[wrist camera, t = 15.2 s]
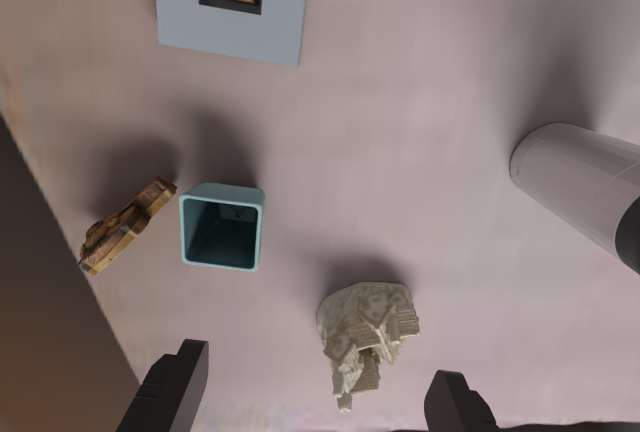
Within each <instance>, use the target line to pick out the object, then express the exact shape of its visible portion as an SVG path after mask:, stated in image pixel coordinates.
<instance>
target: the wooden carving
mask: <svg viewBox="0 0 640 432" xmlns="http://www.w3.org/2000/svg"><path fill="white" fill-rule="evenodd" d="M176 189H177V187H176V186H175V185H174V184H172V183H171V182H169V181H168V180H166V179H165V178H164V177H163V176H162V177H161V178H158V177H157V178H155V179H153V180H152V181H150V182H149V183H148V184H147V185H146V186H145V187H144V189H142V190H141V191H140V192H139V193H138V194H137V195H136V196H135V197H134V198H133V199H132V200H131V201H130V202H129V203H128V204H127V205H126V206H124V207H123V208H122V209H121V211H119V212H116V213H113V214H111V215H109V216H107V217H106V218H105V219H103V220H102V221H101V220H100V221H98V222H96V223H95V224H93V225H92V226H91V227H90V229H89V230H88V231H87V232H86V243H84V244H83V245H82V247H81V249H80V257H81V260H80V262H79V263H78V267H79V268H81V269H83V270H85V271H87V272H88V274H90V275H91V276H95V275H96V274H97V273H98V272H100V271H101V270H103V269H104V268H105V267H106V266H108V265H109V264H110V263H111V262H112V261H114V260H115V259H116V258H117V257H118V256H119V255H120V254H121V253H122V252H123V251H124V250H125V248H126V247H127V246H128V245H129V244H130V243H131V242H132V241H133V240H134V239H135V238H136V237H137V236H138V235H139V234H140V233H141V232H142V231H143V230H144V228H145V227H146V226H147V225H148V223H149V221H150V219H151V218H152V217H153V216H154V215H155V214H156V213H157V212H158V211H159V210H160V209H161V208H162V207H163V206H164V205H165V204H166V203H167V202H168V201H169V200H170V199H171V198H172V197H173V196H174V194H175V193H176Z"/></svg>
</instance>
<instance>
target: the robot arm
mask: <svg viewBox="0 0 640 432" xmlns="http://www.w3.org/2000/svg"><path fill="white" fill-rule="evenodd" d="M510 174H511V178H512V180H513V182H514V183H515V185H516V186H517V187H518V188H519V189H521V190H522V191H523V192H525V193H526V194H528V195H529V196H530V197H532V198H533V199H534V200H536V201H537V202H538V203H540V204H541V205H543V206H544V207H545V208H547V209H548V210H550V211H551V212H552V213H554V214H555V215H557V216H558V217H559V218H561V219H562V220H564V221H565V222H566V223H568V224H569V225H571V226H572V227H573V228H575V229H576V230H578V231H579V232H580V233H582V234H583V235H585V236H586V237H587V238H589V239H590V240H592V241H593V242H594V243H596V244H597V245H599V246H600V247H602V248H603V249H604V250H606V251H607V252H609V253H610V254H611V255H613V256H614V257H616V258H617V259H618V260H620V261H621V262H623V263H624V264H626V265H627V266H628V267H630V268H631V269H633V270H634V271H636V272H637V273H638V274H639V275H640V146H639V145H636V144H633V143H630V142H626V141H623V140H620V139H617V138H613V137H610V136H607V135H604V134H600V133H597V132H594V131H591V130H588V129H584V128H581V127H578V126H574V125H571V124H567V123H552V124H548V125H544V126H542V127H540V128H538V129H536V130H534V131H533V132H531V133H530V134H528V135H527V136H526V137H525V138H524V139H523V140H522V141H521V142H520V144H519V145H518V146H517V148H516V150H515V152H514V153H513V156H512V159H511V162H510ZM208 350H209V344H208V341H200V340H192V339H185V340H184V341H183V343H182V345H181V347H180V349H179V351H178V353H177V355H171V354H164V355H163V356H162V357H161V358H160V359H159V360H158V361H157V362H156V363H154V364H153V365H152V366H151V368H150V370H149V372H148V373H147V375H146V377H145V379H144V381H143V384H142V385H141V386H140V388H139V390H138V392H137V394H136V397H135V398H134V399H133V401H132V403H131V404H130V406H129V408H128V410H127V412H126V414H125V416H124V417H123V419H122V421H121V423H120V425H119V426H118V428H117V430H116V432H190V430H191V427H192V424H193V421H194V419H195V416H196V413H197V410H198V407H199V404H200V402H201V399H202V396H203V393H204V390H205V387H206V383H207V378H208ZM424 413H425V418H426V422H427V425H428V429H429V432H501V431H500V429H499V427H498V426H497V425H496V420H495V418H494V416H493V414H492V412H491V410H490V407H489V406H488V404H487V403H486V402H485V401H484V399H483V398H482V397H481V396H480V395H479V393H478V392H477V391H473V390H470V389H469V387H468V385H467V382H466V380H465V378H464V376H463V374H462V373H460V372H453V371H445V370H438V371H437V372H436V374H435V376H434V378H433V381H432V383H431V385H430V387H429V390H428V392H427V394H426V397H425V401H424Z"/></svg>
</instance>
